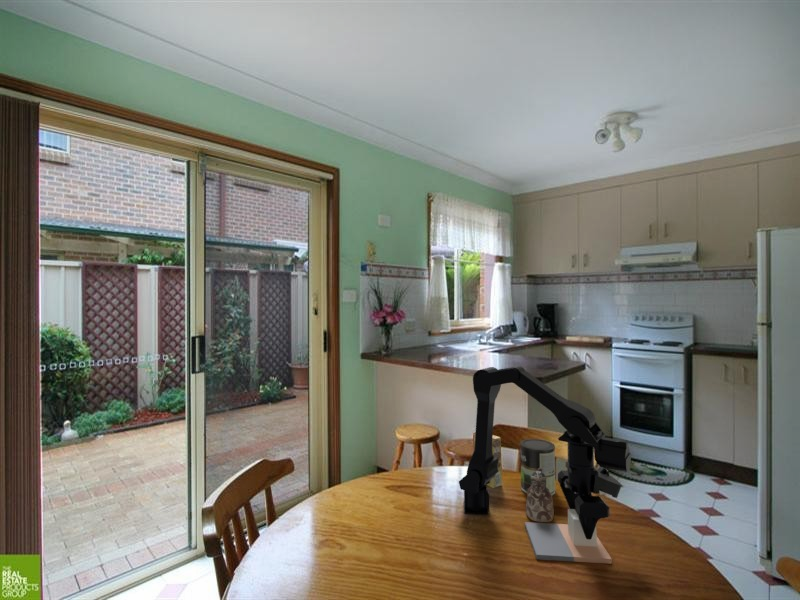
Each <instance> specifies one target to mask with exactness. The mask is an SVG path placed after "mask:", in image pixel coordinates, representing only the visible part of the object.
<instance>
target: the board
mask: <svg viewBox="0 0 800 600" xmlns="http://www.w3.org/2000/svg"><path fill="white" fill-rule="evenodd" d="M524 527H525V531H526V533H527V535H528V539H529V541H530V545H531V547H532V549H533V550H532V551H533V553H534V555H535V558H536V560H544V561H545V560H546V561H558V562H560V561H561V562H577V563H578V562H579V563H595V564H609V565H612V564H613V560H612V557H611V555H610V554H609V553H608V551H607V549H606V548H605V546H604V545H603V544H602V541H601V540H600V539H599V537H598V536H597V547H592V546H576V545H574V544H573V542H572V540H571V538H570V536H569V534H568V523H551V522H528V521H527V522H526V521H524Z"/></svg>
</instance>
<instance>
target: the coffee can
mask: <svg viewBox="0 0 800 600" xmlns="http://www.w3.org/2000/svg"><path fill="white" fill-rule="evenodd" d="M519 447H520V489H521V491H522V492H523V493H525V494H527V492H528V489H529V488H530V486H531V485H532V484H531V476H532V474H533V472H535V471H538V468H541V469H542V472H543V473H544V474H545V476H546V487H547V488H548V489H549V491H550V493H551V495H552V497H553V496H554V495H555V494H556V465H555V464H556V459H555V458H556V453H555V452H556V451H555V449H556V444H554V443H553V442H552V441H548V440H545V439H542V438H541V439H540V438H526V439H523V440H521V441H520V442H519Z"/></svg>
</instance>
